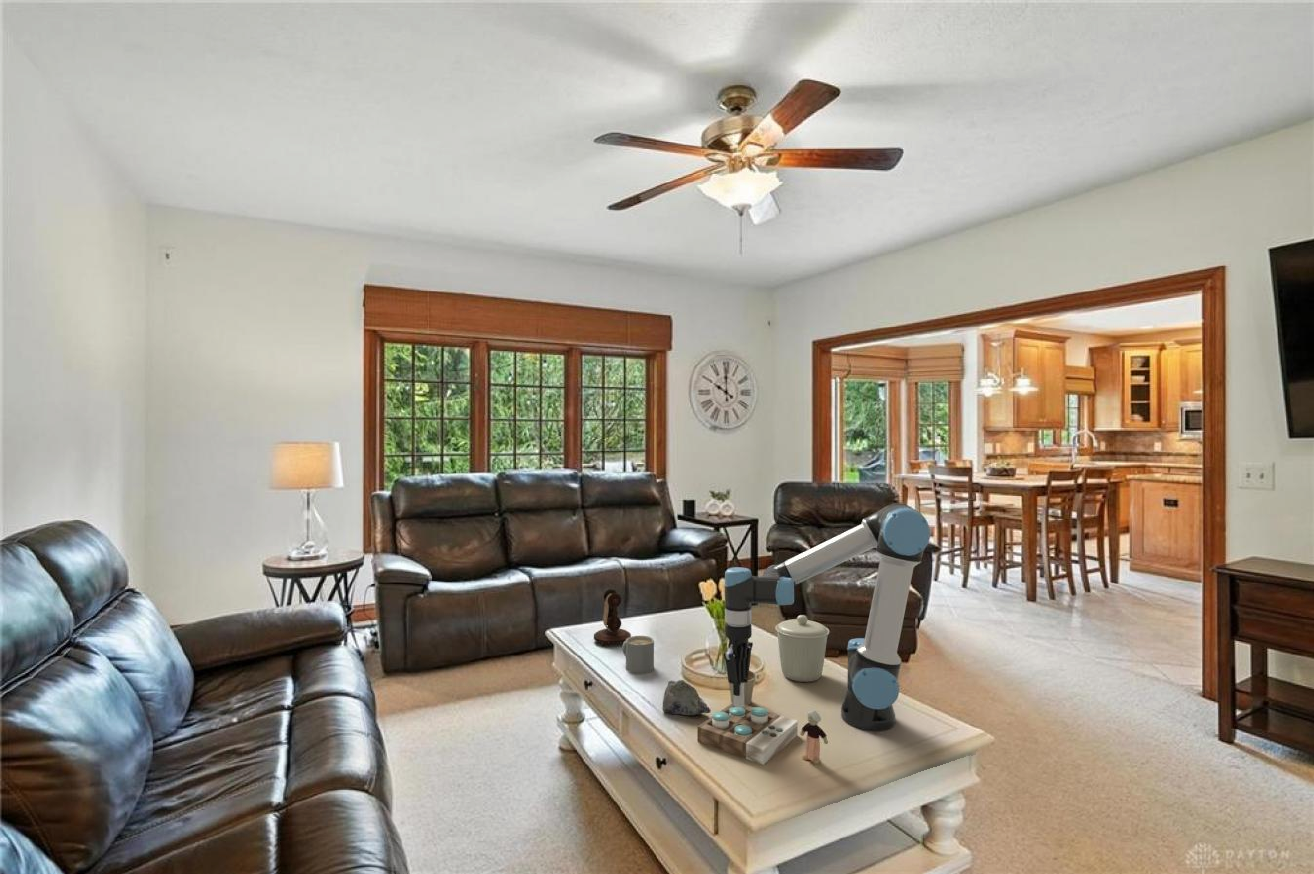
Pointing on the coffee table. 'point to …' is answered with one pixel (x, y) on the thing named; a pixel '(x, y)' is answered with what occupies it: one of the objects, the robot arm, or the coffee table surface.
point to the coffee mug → (639, 654)
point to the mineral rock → (683, 699)
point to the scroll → (611, 621)
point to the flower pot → (746, 688)
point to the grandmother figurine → (813, 737)
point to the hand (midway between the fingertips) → (738, 705)
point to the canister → (802, 648)
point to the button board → (756, 746)
